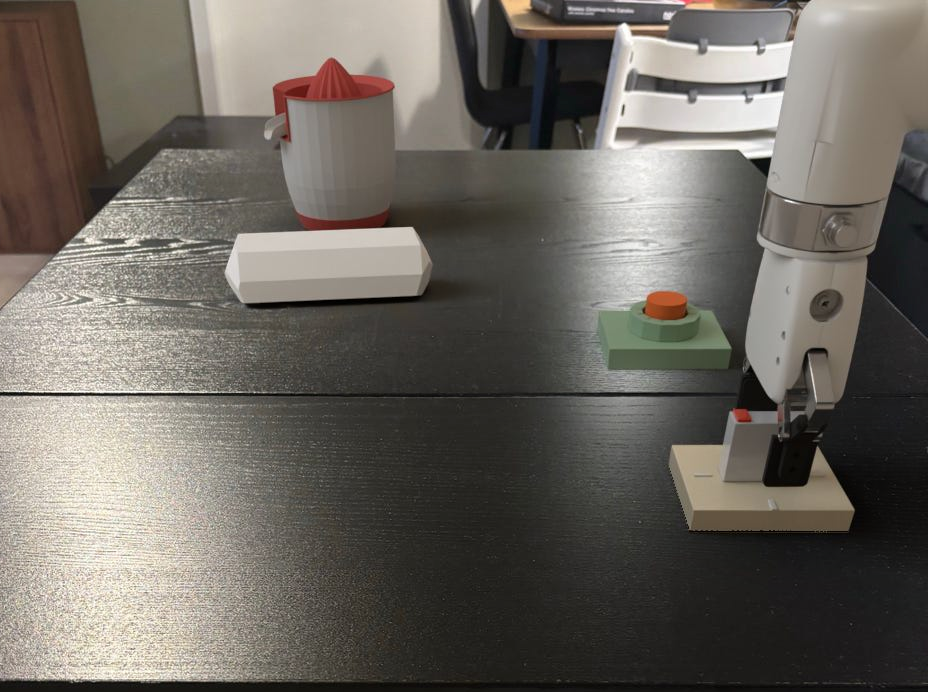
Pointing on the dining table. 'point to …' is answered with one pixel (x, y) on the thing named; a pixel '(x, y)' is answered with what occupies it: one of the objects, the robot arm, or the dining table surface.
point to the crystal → (328, 265)
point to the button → (666, 305)
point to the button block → (662, 340)
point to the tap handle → (748, 443)
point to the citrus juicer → (336, 147)
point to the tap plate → (755, 497)
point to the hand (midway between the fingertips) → (767, 451)
